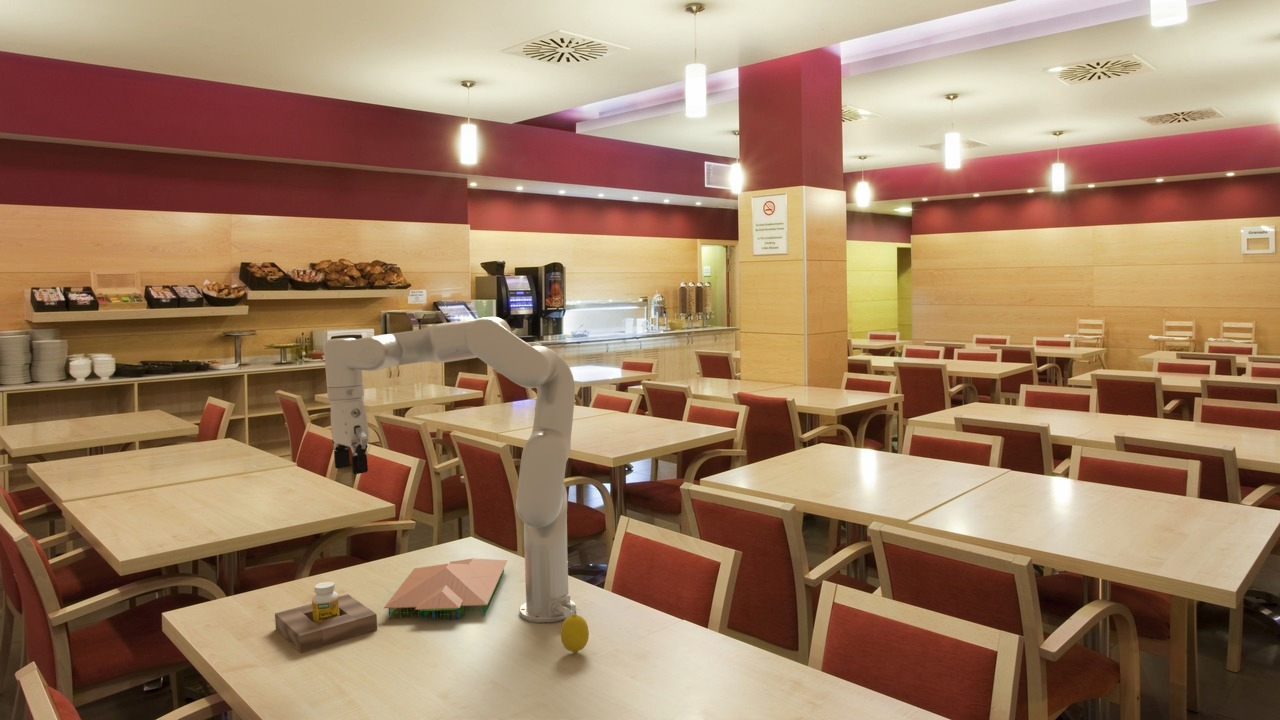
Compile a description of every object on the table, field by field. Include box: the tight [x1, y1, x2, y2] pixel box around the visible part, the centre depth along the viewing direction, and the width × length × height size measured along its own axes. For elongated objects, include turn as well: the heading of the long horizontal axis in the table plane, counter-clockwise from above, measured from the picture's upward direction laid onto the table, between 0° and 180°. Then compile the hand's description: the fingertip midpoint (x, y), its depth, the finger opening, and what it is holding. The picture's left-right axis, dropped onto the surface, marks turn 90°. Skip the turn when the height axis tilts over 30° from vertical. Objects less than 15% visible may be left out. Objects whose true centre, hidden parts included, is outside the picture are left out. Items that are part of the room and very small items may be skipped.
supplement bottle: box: [311, 581, 340, 623], centre depth 172 cm, size 5×5×10 cm
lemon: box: [560, 613, 590, 654], centre depth 158 cm, size 6×6×8 cm
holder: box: [274, 593, 378, 653], centre depth 172 cm, size 16×16×4 cm
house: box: [383, 557, 508, 621], centre depth 190 cm, size 23×33×8 cm
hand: (351, 470), depth 177 cm, fingers open, 9 cm apart
